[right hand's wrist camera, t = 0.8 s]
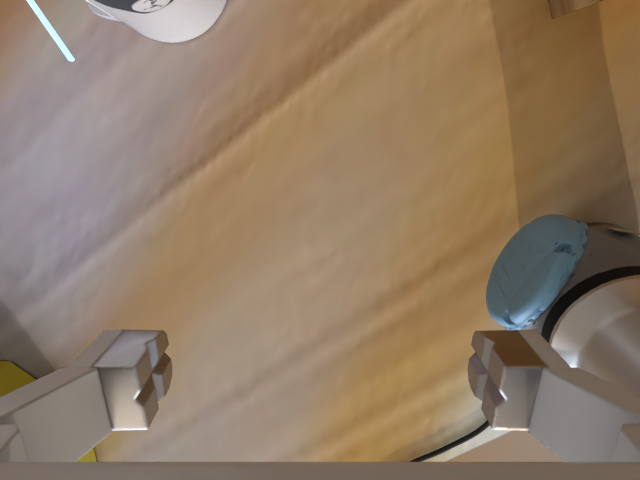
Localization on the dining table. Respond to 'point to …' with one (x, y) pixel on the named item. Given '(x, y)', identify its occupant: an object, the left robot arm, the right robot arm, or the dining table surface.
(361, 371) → the dining table surface
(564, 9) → the bar
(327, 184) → the dining table surface
